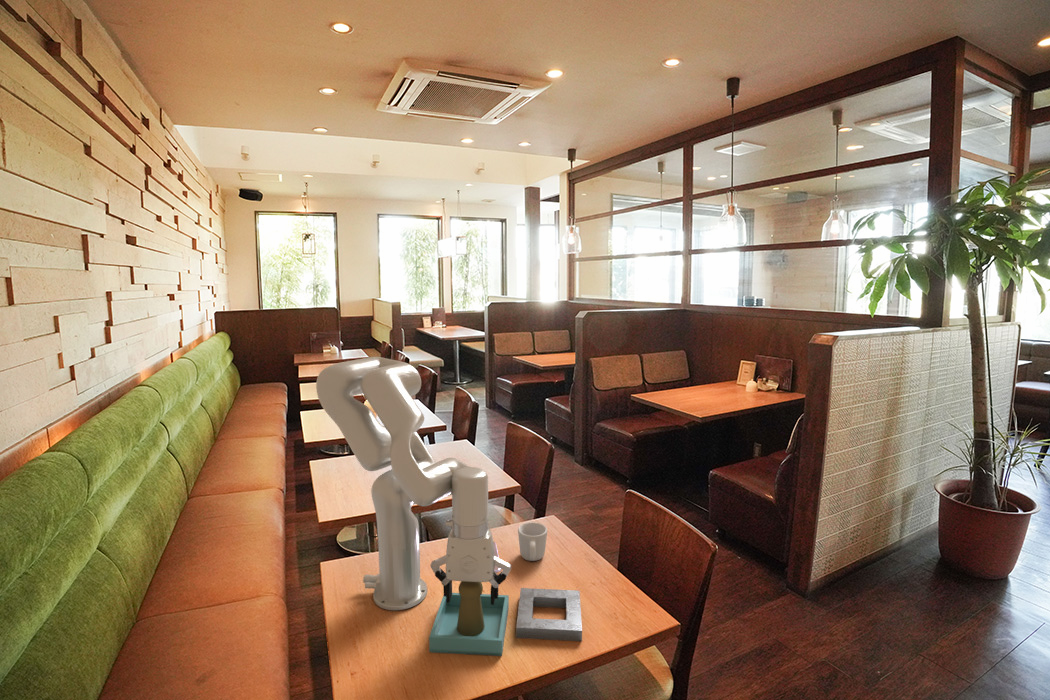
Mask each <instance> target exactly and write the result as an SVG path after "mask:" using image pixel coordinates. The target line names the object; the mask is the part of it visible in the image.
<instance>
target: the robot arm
mask: <svg viewBox="0 0 1050 700" xmlns="http://www.w3.org/2000/svg"><path fill="white" fill-rule="evenodd" d="M420 375H421V374H420V373H419V371H418V370H417V369H416V368H415V367H414V366H413V365H411V364H410V363H407V362H404V361H401V360H395V359H391V358H385V357H380V356H371V357H370V356H369V357H363V358H360V359H359V358H358V359H354V360H347V361H342V362H338V363H334V364H331V365H329V366H327V367H324V369H322V370H321V371H320V372H319V374H318V375H317V379H316V384H315V386H316V395H317V398H318V401H319V403H320V405H321V407H322V408H323V410H324V412H325V413H326V414H327V415H328V416H329V418H330V419H331V420H332V421H333V422H334V424H335V425H336V426H337V427H338V429H339V430H340V431H341V434H342V435H343V437H344V439H345V441H346V442H347V444H348V446H349V448H350V450H351V451H352V453H353V454H354V457H355V459H357V461H358V463H359V464H360V466H361V467H362V468H363V469H364V470H366V471H368V472H377V471H379V470H383V469H386V468H387V467H390V466H391V469H389V470H387V471H385V472H383V473H381V474H380V475H379V476H378V477H377V478H376V479H375V480H374V481H373V483H372V485H371V489H370V493H371V498H372V499H371V500H372V502H373V503H372V504H373V507H374V511H375V517H376V527H377V528H376V529H377V545H378V547H377V548H378V549H377V550H378V570H379V571H378V573H377V574H375V575H374V574H364V575H363V580H362V581H363V584H364V589H373V590H374V591H373V602H374V603H375V605H377V606H378V607H379V608H381V609H384V610H388V611H402V610H407V609H410V608H412V607H415V606H417V605H418V604H420V603H421V602H422V601H423V600H424V599H425V598H426V596H427V594H428V585H427V583H426V581H425V580H423V579H422V578H421V557H420V556H421V553H420V552H421V551H420V525H419V521H418V518H417V516H416V515H415V514H414V513H413V512H412V506H414V505H417V506H420V507H428V506H431V505H433V504H436V503H437V502H440V500H443V499H445V498H446V497H449V496H451V505H452V506H451V509H452V515H451V516H452V518H451V519H446V520H445V527H447V528H450V529H451V530H450V532H449V533H448V536H447V541H446V542H447V544H446V551H445V552H446V554H445V555H444V556H441V557H439V558H436V559H434V560H432V561H431V564H430V569H431V570H432V572H433V573H434V576H435V578H437V579H438V580H439V581H440V583H441V585H442V586H443V595H444V596H445V597H446V603H449V602H450V600H451V597H452V593H453V582H461V581H466V582H481V583H487V582H488V583H490V594H491V604H492V605H494V602H495V599H498V595H499V586H500V585H501V584H502V583H503V582H505V580H506V579H507V577H508V575H509V574H510V572H511V570H512V564H510V563H509V562H507V561H505V560H503V559H501V558H500V557H499V558H497V557H495V555H494V544H493V542H494V537H493V533H492V531H491V529H490V528H489V476H488V473H487V472H486V471H485V470H484V469H482V468H481V467H476V466H470V465H468V464H466V463H465V462H463V461H462V460H460V459H458V458H456V457H446V458H444V459H442V460H439V461H437V462H436V460H435V459H434V457H433V456H432V454H431V453H430V451H429V450H428V448H427V446H426V444H425V442H424V441H423V440H422V438H421V436H420V435H419V433H418V432H417V431H418V430H420V429H421V427H422V425H423V424H424V421H425V415H424V413H423V411H422V410H421V409H420V408H419V406H418V404H417V403H416V402H415V400H414V399H413V398H412V397H413V396H415V395H417V394H418V393H419V392H420V390H421V387H422V379H421V378H422V377H421V376H420ZM362 394H363V396H364V398H365V400H367V402H368V404H369V405H370V407H371V408H369V407H368V406H367V405H366V404H364V403H363V402H361V401H360V400H358V399H356V398H354V396H359V395H362ZM371 409H373V410H371ZM373 411H374V412H373ZM375 414H376V415H375ZM376 416H377V417H378V419H379V420H380V421H381V423H382V424H381V423H380V421H379V420H378V419H377V417H376ZM444 565H445V570H443V569H442V568H441V566H444ZM495 566H497V567H499V568H501V571H500V572H499V573H498V572H495V571H494V568H495Z"/></svg>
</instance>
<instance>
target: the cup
mask: <svg viewBox="0 0 1050 700" xmlns="http://www.w3.org/2000/svg"><path fill="white" fill-rule="evenodd" d="M517 533H518V535H517V536H518V543H519V552H520V556H521V557H522V558H523V559H524V560H526V561H530V562H535V561H540V560H541V559H543V557H544V556H545V552H546V545H547V537H548V528H547V526H546V525H544V524H542V523H539V522H534V521H529V522H524V523H522V524H521V525H519V527H518V529H517Z"/></svg>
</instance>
